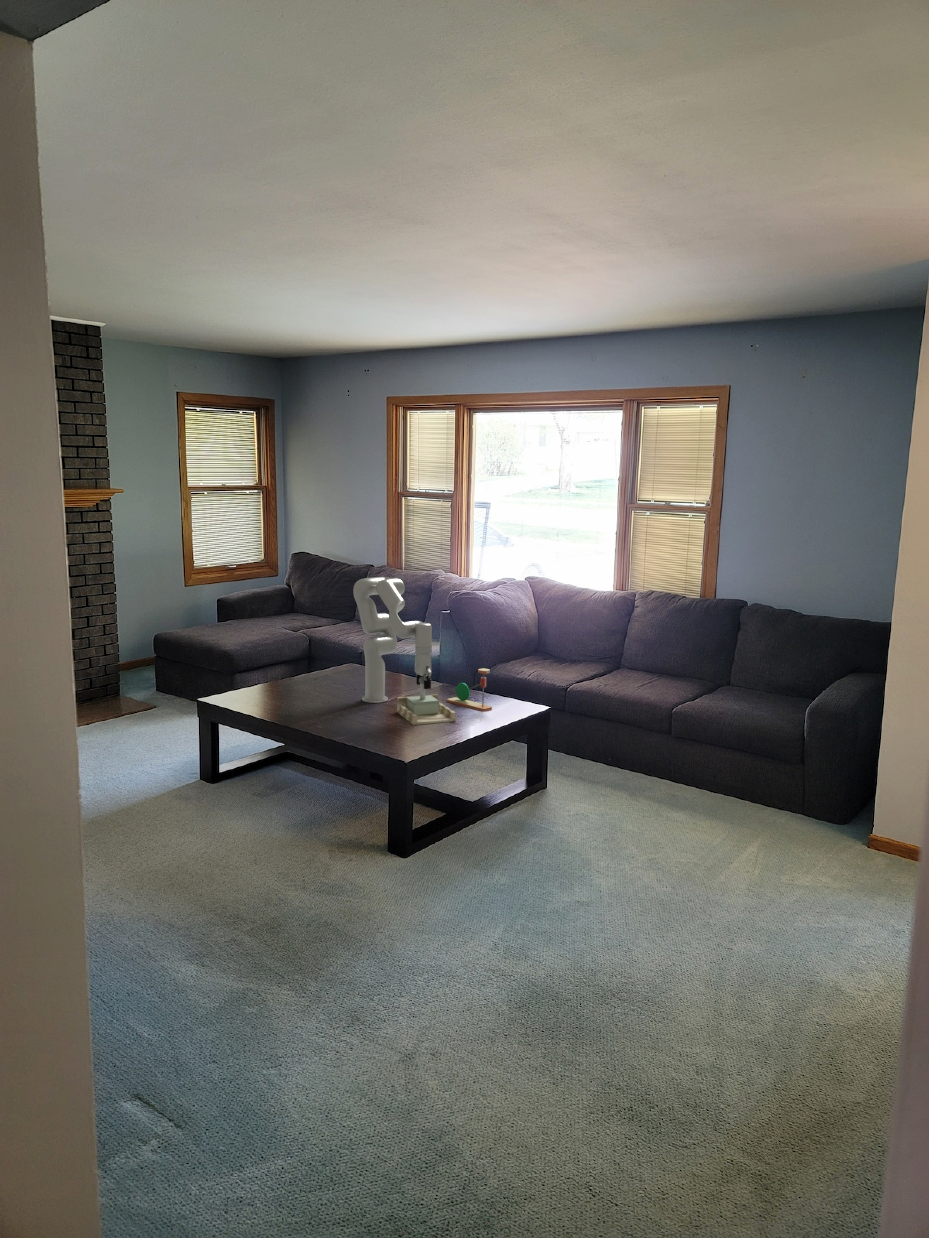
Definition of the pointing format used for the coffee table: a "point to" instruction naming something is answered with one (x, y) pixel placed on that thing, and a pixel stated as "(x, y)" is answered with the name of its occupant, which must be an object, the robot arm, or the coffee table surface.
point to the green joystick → (423, 702)
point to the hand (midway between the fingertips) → (423, 686)
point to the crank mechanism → (464, 693)
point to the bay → (442, 716)
